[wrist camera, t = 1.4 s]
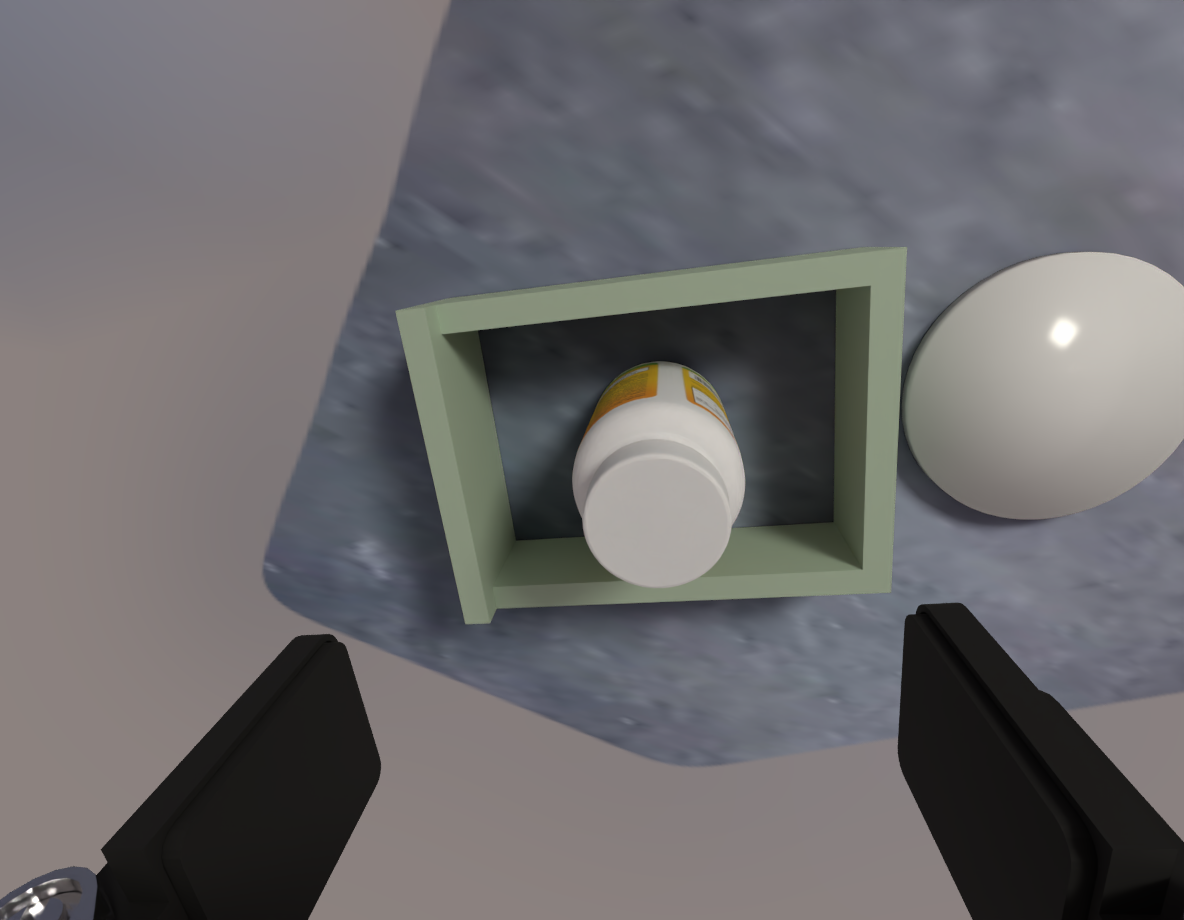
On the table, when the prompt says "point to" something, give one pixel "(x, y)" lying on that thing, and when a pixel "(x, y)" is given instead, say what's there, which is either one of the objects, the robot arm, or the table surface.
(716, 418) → the supplement bottle
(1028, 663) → the table surface
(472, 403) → the frame
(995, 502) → the saucer
